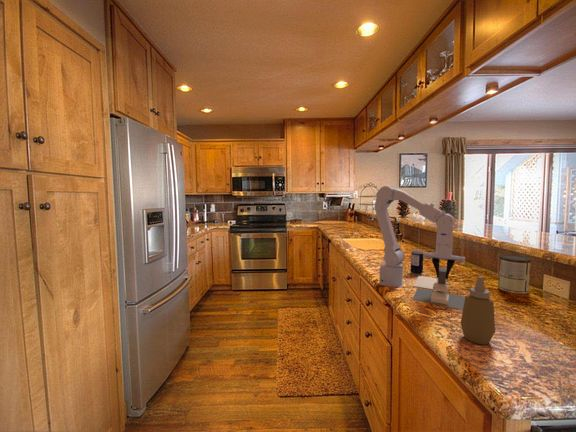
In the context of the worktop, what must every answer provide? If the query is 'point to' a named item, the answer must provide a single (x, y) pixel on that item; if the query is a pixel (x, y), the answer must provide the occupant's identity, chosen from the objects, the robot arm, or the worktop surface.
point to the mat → (453, 302)
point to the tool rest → (425, 282)
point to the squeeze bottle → (478, 314)
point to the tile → (440, 298)
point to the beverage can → (417, 262)
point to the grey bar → (441, 280)
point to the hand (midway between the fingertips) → (442, 277)
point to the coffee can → (514, 274)
